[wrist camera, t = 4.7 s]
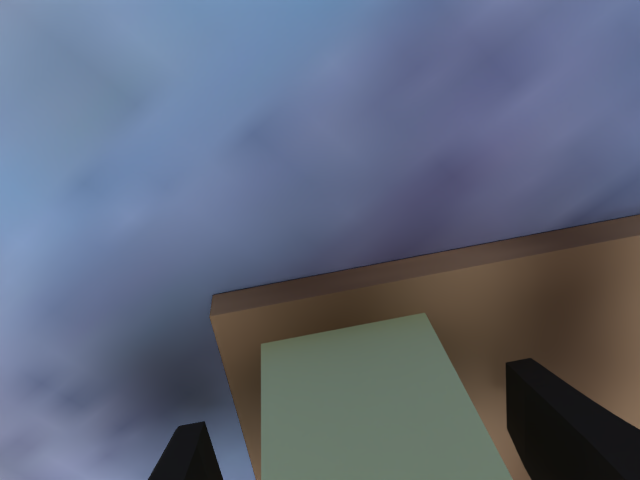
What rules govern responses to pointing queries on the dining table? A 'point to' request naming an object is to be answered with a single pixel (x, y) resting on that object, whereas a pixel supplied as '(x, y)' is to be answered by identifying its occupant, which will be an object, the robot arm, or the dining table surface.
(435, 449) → the sage block
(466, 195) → the dining table surface
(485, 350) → the service board
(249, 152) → the dining table surface
